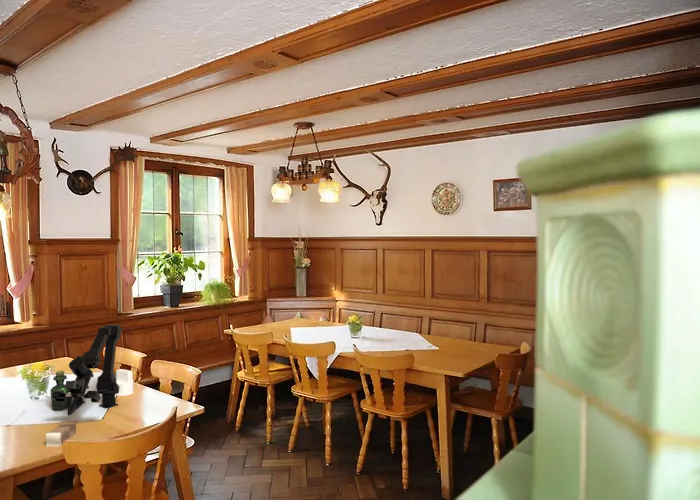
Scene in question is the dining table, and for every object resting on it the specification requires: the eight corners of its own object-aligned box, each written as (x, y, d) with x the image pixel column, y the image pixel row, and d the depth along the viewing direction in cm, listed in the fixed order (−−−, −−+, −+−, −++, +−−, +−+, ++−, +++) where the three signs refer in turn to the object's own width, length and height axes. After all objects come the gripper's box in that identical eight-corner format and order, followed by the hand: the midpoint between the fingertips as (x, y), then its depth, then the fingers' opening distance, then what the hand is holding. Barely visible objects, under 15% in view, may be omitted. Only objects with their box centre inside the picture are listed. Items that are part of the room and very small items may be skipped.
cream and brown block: (64, 422, 215) (46, 433, 202) (76, 422, 215) (58, 434, 202) (64, 433, 215) (46, 446, 202) (76, 433, 215) (58, 446, 202)
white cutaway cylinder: (137, 392, 273) (137, 369, 272) (123, 396, 264) (123, 373, 264) (125, 389, 276) (125, 367, 276) (111, 394, 268) (111, 371, 268)
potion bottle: (53, 407, 248) (52, 370, 247) (71, 405, 250) (71, 369, 250) (48, 412, 240) (47, 374, 239) (67, 411, 242) (67, 373, 242)
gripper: (53, 371, 219) (38, 406, 208) (97, 372, 219) (84, 406, 208) (63, 384, 227) (49, 418, 216) (105, 385, 227) (93, 418, 216)
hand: (68, 415), depth 214 cm, fingers closed
